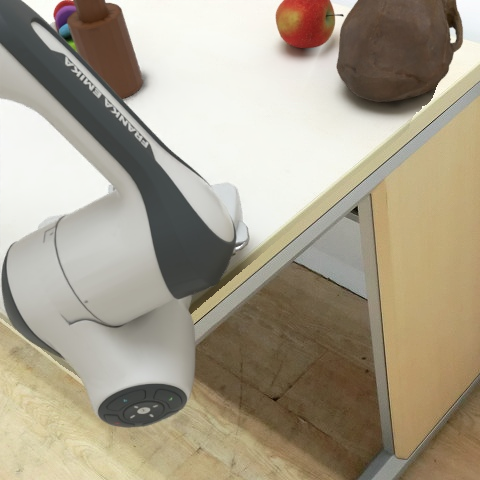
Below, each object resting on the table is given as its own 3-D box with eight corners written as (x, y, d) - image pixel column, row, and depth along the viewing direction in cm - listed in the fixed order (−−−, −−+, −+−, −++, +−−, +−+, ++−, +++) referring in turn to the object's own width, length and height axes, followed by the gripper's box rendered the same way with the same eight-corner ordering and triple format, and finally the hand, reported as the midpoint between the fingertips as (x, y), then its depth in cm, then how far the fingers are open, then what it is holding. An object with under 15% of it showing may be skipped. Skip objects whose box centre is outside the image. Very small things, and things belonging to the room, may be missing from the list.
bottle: (91, 104, 107) (54, 4, 97) (94, 78, 113) (59, -20, 103) (143, 95, 108) (111, -7, 98) (143, 69, 113) (113, -30, 103)
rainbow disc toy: (103, 27, 124) (89, -16, 120) (113, 53, 118) (98, 9, 113) (51, 41, 123) (34, -2, 118) (57, 69, 116) (40, 25, 111)
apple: (288, 23, 117) (351, 9, 114) (285, 65, 113) (351, 51, 110) (268, -16, 110) (335, -32, 107) (264, 27, 106) (334, 11, 103)
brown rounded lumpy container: (507, 74, 102) (506, -15, 91) (379, 141, 98) (364, 56, 88) (427, 12, 113) (419, -73, 103) (311, 70, 110) (291, -12, 100)
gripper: (245, 226, 71) (232, 141, 81) (23, 270, 70) (37, 178, 80) (257, 274, 75) (243, 187, 86) (47, 316, 74) (58, 223, 85)
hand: (142, 183), depth 83 cm, fingers closed on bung, 4 cm apart
